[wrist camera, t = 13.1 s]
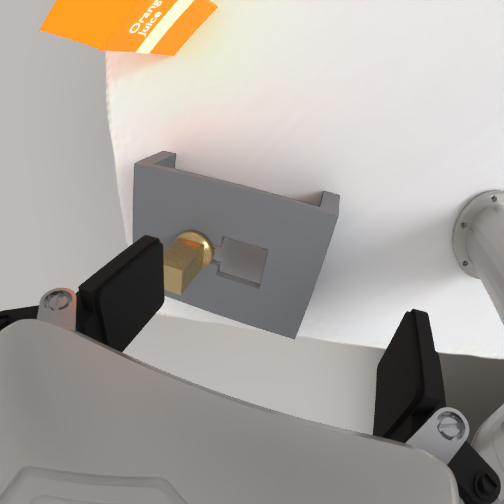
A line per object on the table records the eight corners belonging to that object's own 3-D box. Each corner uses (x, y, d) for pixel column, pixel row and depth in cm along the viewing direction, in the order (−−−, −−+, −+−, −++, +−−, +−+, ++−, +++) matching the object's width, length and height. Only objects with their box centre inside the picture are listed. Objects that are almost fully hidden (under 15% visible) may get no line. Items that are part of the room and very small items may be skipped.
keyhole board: (339, 195, 39) (338, 215, 33) (302, 307, 48) (294, 339, 42) (163, 150, 42) (134, 163, 36) (157, 260, 51) (134, 283, 45)
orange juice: (219, 7, 31) (119, -40, 14) (174, 56, 35) (57, 52, 18) (179, -22, 30) (73, -66, 13) (138, 26, 34) (22, 15, 17)
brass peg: (231, 218, 42) (190, 266, 32) (226, 251, 45) (188, 304, 34) (196, 208, 43) (147, 252, 32) (193, 241, 46) (148, 289, 35)
